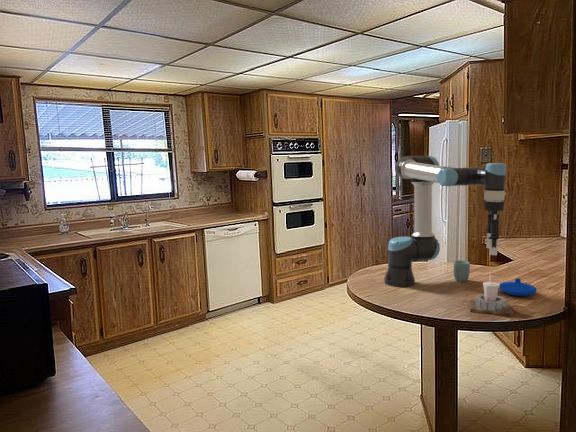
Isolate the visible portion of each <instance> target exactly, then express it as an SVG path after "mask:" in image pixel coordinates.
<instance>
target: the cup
mask: <svg viewBox="0 0 576 432" xmlns="http://www.w3.org/2000/svg"><path fill="white" fill-rule="evenodd" d="M470 273H471V263H470V261H468V260H454V261H453V279H455V281H457V282H459V283H460V282H461V283H465V282H467V281H468V280H469V277H470Z"/></svg>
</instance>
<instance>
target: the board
mask: <svg viewBox="0 0 576 432" xmlns="http://www.w3.org/2000/svg"><path fill="white" fill-rule="evenodd" d="M468 305H469V312H470V313H478V312H480V314H488V313H491V315H499V314H500V316H501V315H502V316H509V315H513V316H514V311H513V309H512V307H511V304H510V303H507V302H506V309H505V310H502V311H489V310H484V309H480V308H478V307H476V305H475V300H471V299H470V300H468ZM492 313H493V314H492Z"/></svg>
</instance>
